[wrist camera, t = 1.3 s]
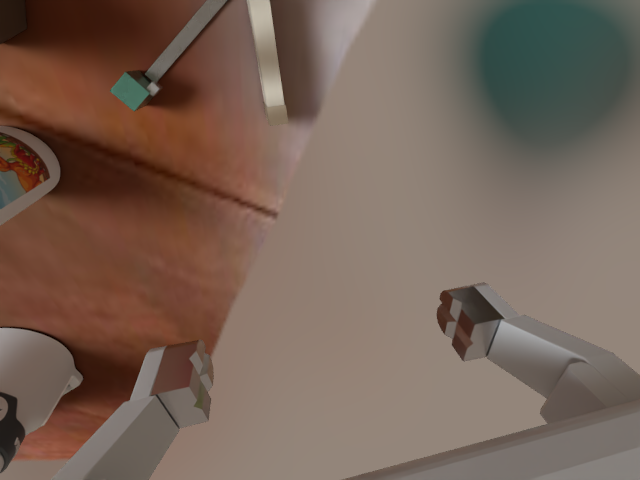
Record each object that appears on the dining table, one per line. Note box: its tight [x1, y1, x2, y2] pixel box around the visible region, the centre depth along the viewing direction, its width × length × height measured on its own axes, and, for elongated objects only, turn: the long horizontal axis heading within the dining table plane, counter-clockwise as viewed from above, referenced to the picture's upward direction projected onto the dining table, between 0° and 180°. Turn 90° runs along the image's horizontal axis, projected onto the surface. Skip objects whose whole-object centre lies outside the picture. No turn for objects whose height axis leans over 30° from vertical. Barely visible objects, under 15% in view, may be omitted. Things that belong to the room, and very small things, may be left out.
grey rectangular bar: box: [247, 0, 288, 126], centre depth 30 cm, size 12×2×5 cm, turn 5°
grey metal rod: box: [145, 0, 228, 82], centre depth 30 cm, size 14×1×1 cm, turn 130°
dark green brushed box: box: [110, 70, 163, 111], centre depth 30 cm, size 3×3×4 cm
